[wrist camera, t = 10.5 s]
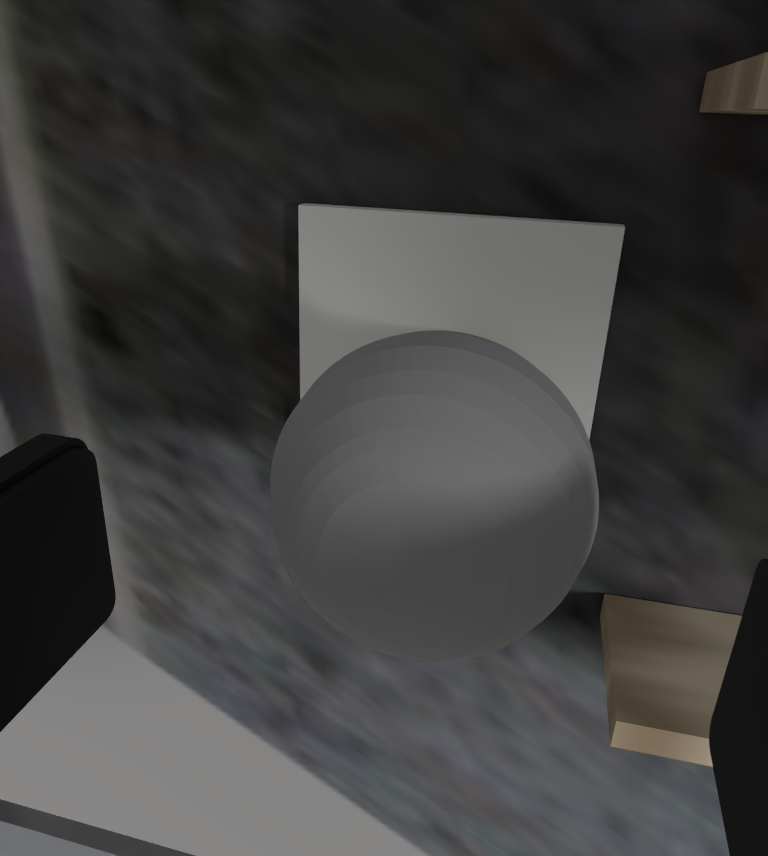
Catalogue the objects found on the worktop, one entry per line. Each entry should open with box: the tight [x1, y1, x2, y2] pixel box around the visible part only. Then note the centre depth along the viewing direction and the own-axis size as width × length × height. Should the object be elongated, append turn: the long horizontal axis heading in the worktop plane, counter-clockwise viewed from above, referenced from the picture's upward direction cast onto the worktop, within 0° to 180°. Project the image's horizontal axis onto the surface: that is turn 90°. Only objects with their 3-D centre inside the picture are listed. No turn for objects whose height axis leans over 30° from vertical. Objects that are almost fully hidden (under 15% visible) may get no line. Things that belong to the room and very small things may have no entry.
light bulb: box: [270, 330, 599, 662], centre depth 14 cm, size 6×6×10 cm
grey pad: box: [298, 203, 625, 439], centre depth 19 cm, size 8×8×1 cm
